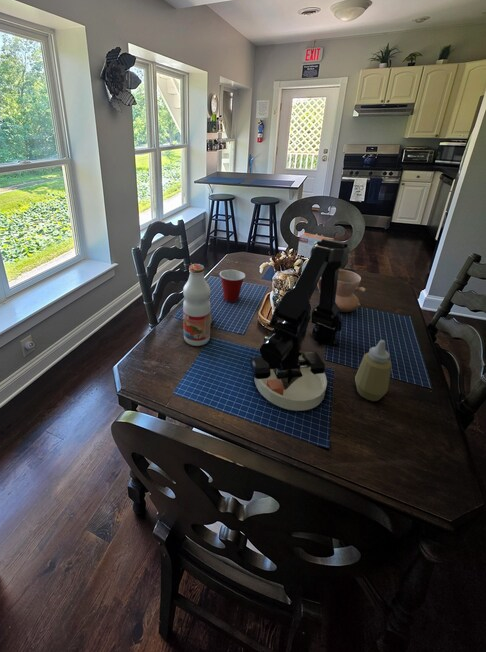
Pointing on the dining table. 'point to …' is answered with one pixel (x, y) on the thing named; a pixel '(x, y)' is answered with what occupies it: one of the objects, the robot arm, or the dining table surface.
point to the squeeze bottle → (374, 373)
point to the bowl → (296, 391)
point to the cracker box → (308, 244)
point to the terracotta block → (275, 386)
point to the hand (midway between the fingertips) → (284, 388)
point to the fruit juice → (196, 307)
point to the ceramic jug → (347, 290)
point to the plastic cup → (231, 284)
